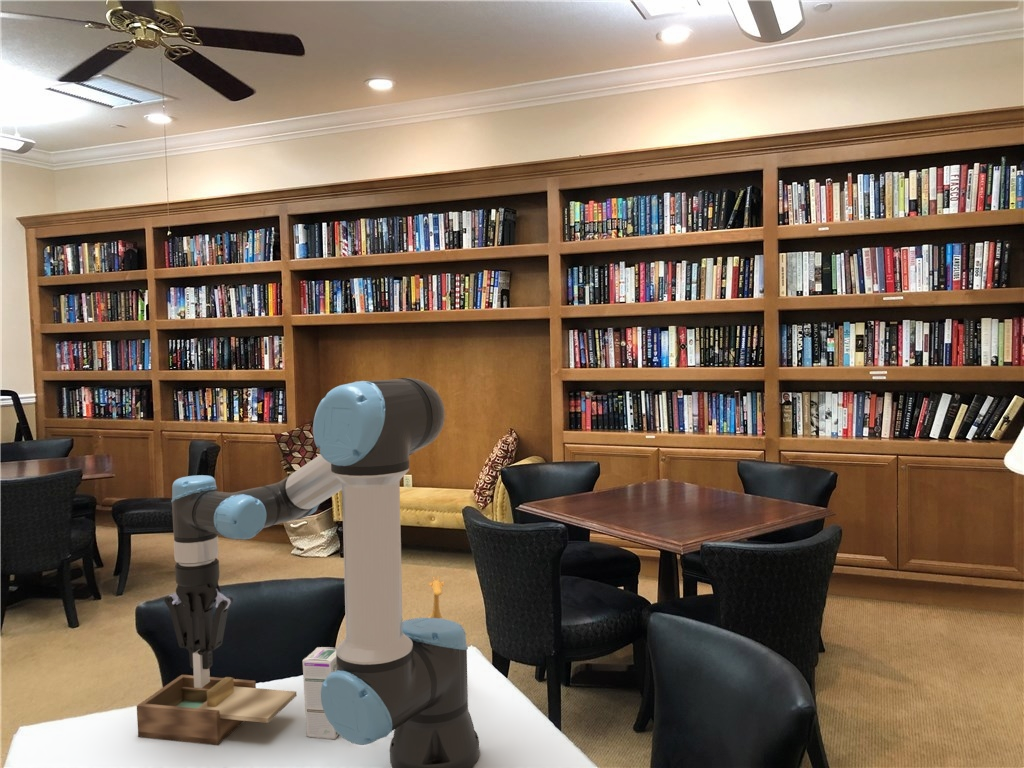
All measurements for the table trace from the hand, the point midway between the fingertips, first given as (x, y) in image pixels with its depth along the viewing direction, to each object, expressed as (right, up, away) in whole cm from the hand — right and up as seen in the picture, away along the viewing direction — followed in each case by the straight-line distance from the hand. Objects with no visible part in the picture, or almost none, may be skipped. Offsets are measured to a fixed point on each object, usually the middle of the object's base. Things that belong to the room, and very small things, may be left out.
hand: (202, 684), depth 145 cm
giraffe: (+43, -6, +11) cm, 45 cm away
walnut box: (-1, -7, 0) cm, 7 cm away
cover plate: (+9, -3, -2) cm, 10 cm away
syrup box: (+24, -7, -3) cm, 25 cm away
